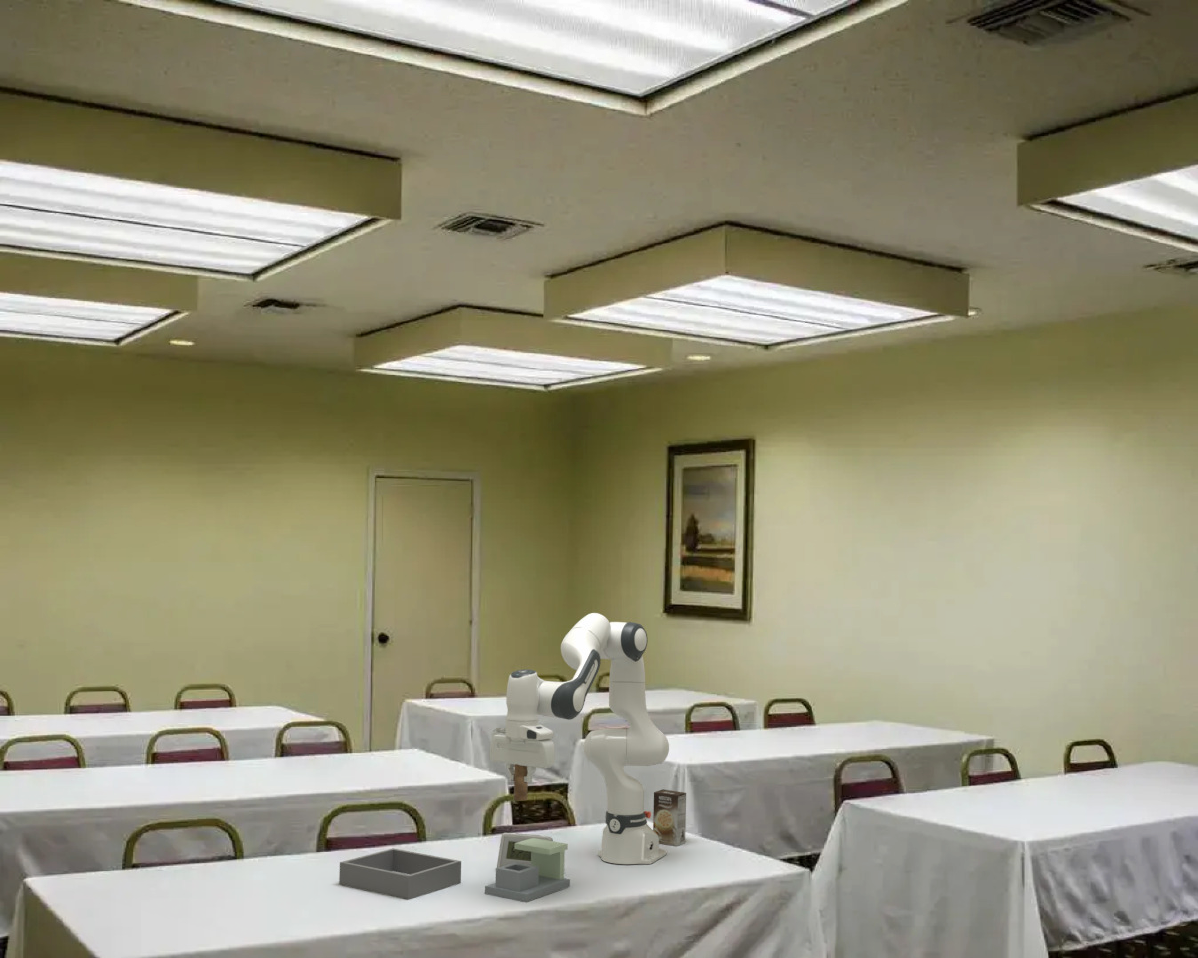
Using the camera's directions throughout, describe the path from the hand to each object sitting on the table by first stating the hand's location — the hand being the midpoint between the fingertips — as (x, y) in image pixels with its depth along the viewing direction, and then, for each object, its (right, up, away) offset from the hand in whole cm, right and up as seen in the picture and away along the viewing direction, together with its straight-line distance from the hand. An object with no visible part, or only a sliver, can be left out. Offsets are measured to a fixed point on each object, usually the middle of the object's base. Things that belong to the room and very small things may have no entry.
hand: (520, 781), depth 348 cm
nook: (+2, -30, +2) cm, 30 cm away
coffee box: (+44, -35, +63) cm, 84 cm away
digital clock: (0, -31, +21) cm, 38 cm away
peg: (0, -5, 0) cm, 5 cm away
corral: (-34, -30, +7) cm, 45 cm away
